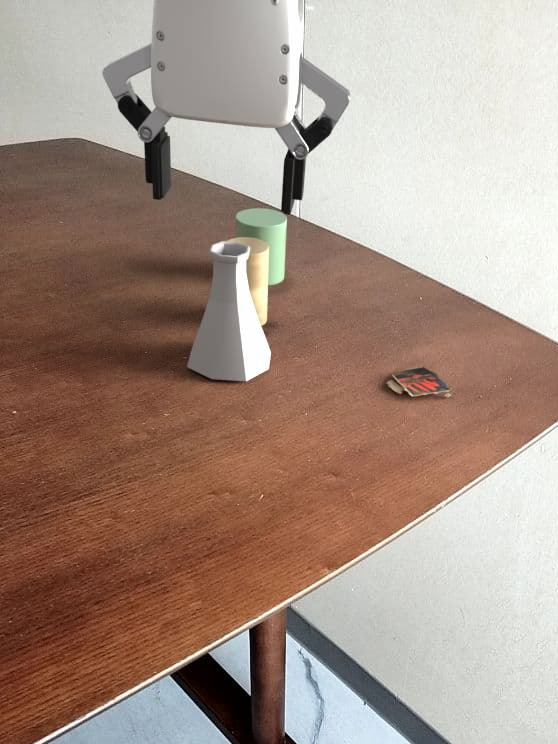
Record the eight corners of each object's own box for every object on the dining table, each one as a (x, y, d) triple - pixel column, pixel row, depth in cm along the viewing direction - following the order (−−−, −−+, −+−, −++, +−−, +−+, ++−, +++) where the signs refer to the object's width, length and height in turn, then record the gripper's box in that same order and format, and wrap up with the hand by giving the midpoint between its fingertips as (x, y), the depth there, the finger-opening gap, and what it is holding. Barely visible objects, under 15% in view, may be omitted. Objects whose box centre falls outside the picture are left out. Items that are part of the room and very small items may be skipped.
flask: (252, 391, 71) (254, 274, 64) (172, 372, 72) (167, 255, 66) (284, 353, 76) (289, 241, 70) (209, 336, 78) (207, 225, 71)
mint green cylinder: (231, 283, 86) (232, 223, 83) (239, 264, 90) (240, 205, 86) (281, 288, 86) (283, 228, 82) (287, 268, 90) (289, 210, 86)
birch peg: (220, 326, 79) (220, 252, 75) (227, 307, 82) (227, 235, 78) (263, 330, 79) (265, 256, 75) (269, 311, 82) (271, 239, 78)
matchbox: (419, 366, 75) (420, 361, 75) (460, 393, 72) (461, 388, 72) (378, 380, 73) (379, 375, 73) (418, 408, 70) (419, 403, 70)
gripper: (368, -66, 57) (341, 197, 68) (110, -94, 57) (125, 172, 69) (363, -52, 51) (334, 232, 62) (76, -83, 52) (98, 205, 63)
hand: (224, 200), depth 66 cm, fingers open, 9 cm apart
